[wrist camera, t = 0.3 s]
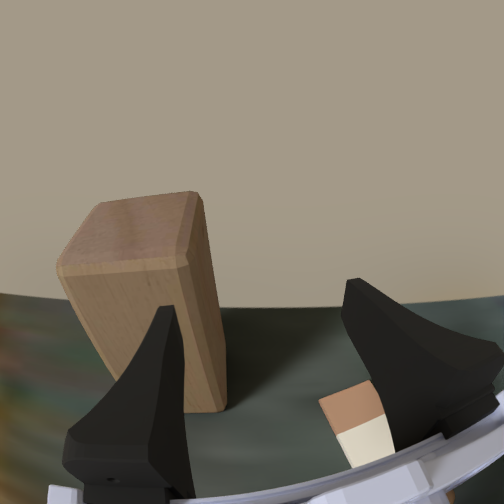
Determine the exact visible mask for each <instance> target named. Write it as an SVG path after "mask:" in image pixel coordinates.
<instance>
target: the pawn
mask: <svg viewBox="0 0 504 504" xmlns="http://www.w3.org/2000/svg"><path fill="white" fill-rule="evenodd" d="M446 496H447V498H448V500H449V502H450V504H453V503H454V500H455V493H454V491H453V490H451V491H449V492H447V493H446Z"/></svg>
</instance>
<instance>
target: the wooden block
mask: <svg viewBox="0 0 504 504" xmlns="http://www.w3.org/2000/svg"><path fill="white" fill-rule="evenodd" d="M56 270H57V276H58V278H59V280H60V282H61V284H62V286H63V288H64V290H65V293H66V295H67V297H68V299H69V301H70V303H71V305H72V307H73V308H74V310H75V312H76V314H77V316H78V318H79V320H80V322H81V324H82V325H83V327H84V329H85V331H86V333H87V334H88V336H89V338H90V340H91V341H92V343H93V345H94V346H95V348H96V350H97V352H98V353H99V355H100V357H101V358H102V360H103V361H104V363H105V365H106V366H107V368H108V369H109V371H110V372H111V374H112V376H113V377H114V379H115V380H116V382H117V380H118V379H119V378H120V376H121V375H122V373H123V372H124V371H125V369H126V368H127V366H128V365H129V363H130V361H131V360H132V358H133V356H134V355H135V353H136V351H137V350H138V348H139V346H140V344H141V342H142V340H143V338H144V336H145V335H146V333H147V331H148V328H149V326H150V324H151V322H152V320H153V318H154V315H155V313H156V310H157V308H158V307H159V306H166V305H174V306H175V310H176V314H177V318H178V322H179V326H180V330H181V334H182V338H183V344H184V357H185V377H184V413H215V412H221V411H224V409H225V407H226V404H227V377H226V342H225V336H224V331H223V325H222V320H221V314H220V308H219V303H218V296H217V291H216V284H215V278H214V272H213V266H212V259H211V253H210V246H209V240H208V233H207V226H206V220H205V212H204V205H203V201H202V199H201V197H200V196H199V194H198V192H193V191H187V192H178V193H169V194H160V195H152V196H144V197H137V198H130V199H122V200H116V201H108V202H102V203H99V204H98V205H96V206H95V207H94V208H93V209H92V211H91V212H90V214H89V215H88V216H87V217H86V219H85V220H84V222H83V223H82V225H81V226H80V227H79V229H78V230H77V231H76V233H75V234H74V236H73V237H72V239H71V240H70V241H69V243H68V244H67V246H66V247H65V249H64V250H63V252H62V253H61V255H60V257H59V258H58V259H57V264H56Z"/></svg>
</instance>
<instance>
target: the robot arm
mask: <svg viewBox="0 0 504 504" xmlns="http://www.w3.org/2000/svg"><path fill="white" fill-rule="evenodd" d="M341 317H342V320H343V323H344V326H345V328H346V331H347V333H348V335H349V337H350V339H351V341H352V343H353V345H354V346H355V348H356V350H357V352H358V354H359V355H360V357H361V359H362V361H363V363H364V364H365V366H366V368H367V370H368V372H369V374H370V376H371V378H372V380H373V382H374V385H375V387H376V390H377V392H378V395H379V397H380V400H381V403H382V406H383V409H384V412H385V415H386V418H387V422H388V425H389V429H390V432H391V436H392V441H393V445H394V449H395V453H394V454H391V455H389V456H386V457H384V458H381V459H378V460H376V461H373V462H370V463H367V464H365V465H362V466H359V467H356V468H353V469H350V470H346V471H343V472H340V473H337V474H333V475H330V476H326V477H322V478H319V479H315V480H311V481H307V482H303V483H299V484H294V485H290V486H285V487H280V488H275V489H270V490H264V491H258V492H252V493H245V494H238V495H230V496H221V497H211V498H198V499H196V495H195V490H194V485H193V479H192V474H191V468H190V461H189V455H188V447H187V439H186V431H185V421H184V377H185V357H184V344H183V338H182V334H181V330H180V326H179V322H178V318H177V314H176V310H175V306H174V305H166V306H159V307H158V308H157V310H156V313H155V315H154V318H153V320H152V322H151V324H150V326H149V328H148V331H147V333H146V335H145V336H144V338H143V340H142V342H141V344H140V346H139V348H138V350H137V351H136V353H135V355H134V356H133V358H132V360H131V361H130V363H129V365H128V366H127V368H126V369H125V371H124V372H123V373H122V375H121V376H120V378H119V379H118V380H117V382H116V383H115V384H114V385H113V387H112V388H111V389H110V390H109V392H108V393H107V394H106V395H105V396H104V397H103V398H102V399H101V400H100V402H99V403H98V404H97V405H96V406H95V407H94V408H93V409H92V410H91V411H90V412H89V413H88V414H87V415H85V416H84V417H83V418H82V419H81V420H80V421H78V422H77V423H76V424H75V425H74V426H72V427H71V428H70V429H68V432H67V436H66V439H65V444H64V451H63V458H62V464H63V467H64V468H65V469H66V470H67V471H68V472H69V473H71V474H72V475H73V476H75V477H76V478H77V479H79V480H80V481H81V482H83V483H84V491H82V490H80V489H76V488H70V487H64V486H58V485H52V484H51V485H49V492H48V503H47V504H450V502H449V500H448V498H447V496H446V493H447V492H449V491H451V490H452V489H454V488H456V487H457V486H459V485H460V484H462V483H464V482H465V481H467V480H468V479H470V478H471V477H473V476H474V475H476V474H477V473H479V472H480V471H481V470H483V469H484V468H486V467H487V466H489V465H490V464H491V463H493V462H494V461H495V460H497V459H498V458H499V457H501V456H502V455H503V454H504V390H503V391H501V392H500V393H499V394H498V395H497V396H496V397H495V395H494V394H493V393H492V392H493V391H494V390H495V387H494V386H493V384H492V382H493V380H494V379H495V377H496V376H497V375H498V373H499V372H500V370H501V369H502V367H503V365H504V353H503V351H502V350H501V349H500V348H499V346H498V345H497V344H496V343H495V342H491V341H486V340H481V339H477V338H473V337H470V336H466V335H463V334H460V333H457V332H454V331H451V330H449V329H446V328H444V327H441V326H439V325H437V324H434V323H432V322H430V321H428V320H426V319H424V318H422V317H420V316H419V315H417V314H415V313H413V312H412V311H410V310H408V309H407V308H405V307H403V306H402V305H400V304H399V303H397V302H395V301H394V300H392V299H391V298H389V297H388V296H386V295H385V294H383V293H382V292H380V291H379V290H377V289H376V288H375V287H373V286H371V285H370V284H369V283H367V282H366V281H364V280H362V279H361V278H355V279H350V280H347V283H346V289H345V295H344V301H343V306H342V312H341Z"/></svg>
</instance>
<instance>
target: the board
mask: <svg viewBox="0 0 504 504" xmlns="http://www.w3.org/2000/svg"><path fill="white" fill-rule="evenodd" d="M319 403H320V405H321V407H322V409H323V411H324V413H325V415H326V417H327V419H328V421H329V423H330V425H331V427H332V429H333V431H334V433H335V435H336V437H337V439H338V441H339V443H340V445H341V447H342V449H343V451H344V453H345V455H346V457H347V459H348V461H349V463H350V465H351V467H352V469H353V468H356V467H359V466H362V465H365V464H367V463H370V462H373V461H376V460H378V459H381V458H384V457H386V456H389V455H391V454H394V453H395V449H394V445H393V441H392V436H391V432H390V429H389V425H388V422H387V418H386V415H385V412H384V409H383V406H382V403H381V400H380V397H379V395H378V393H377V391H376V390H375V388H374V387H373V385H372V383H371V382H370V380H368V381H365V382H363V383H361V384H358V385H356V386H353V387H351V388H348V389H346V390H343V391H341V392H338V393H335V394H333V395H330V396H327V397H324V398H322V399H319Z"/></svg>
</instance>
